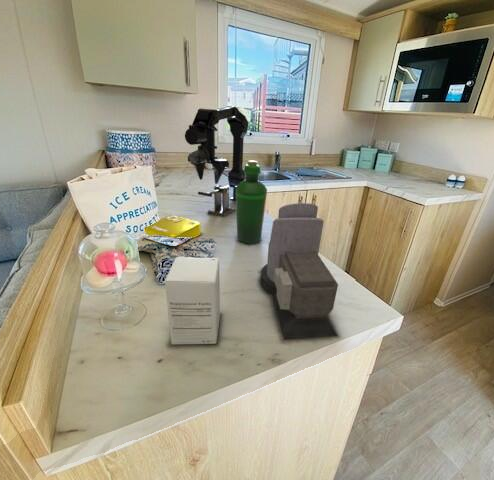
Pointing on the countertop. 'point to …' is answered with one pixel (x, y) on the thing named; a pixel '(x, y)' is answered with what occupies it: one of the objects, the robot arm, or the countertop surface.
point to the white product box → (193, 300)
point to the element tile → (174, 227)
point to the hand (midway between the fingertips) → (208, 181)
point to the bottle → (250, 205)
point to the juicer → (299, 274)
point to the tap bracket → (223, 208)
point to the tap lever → (211, 192)
